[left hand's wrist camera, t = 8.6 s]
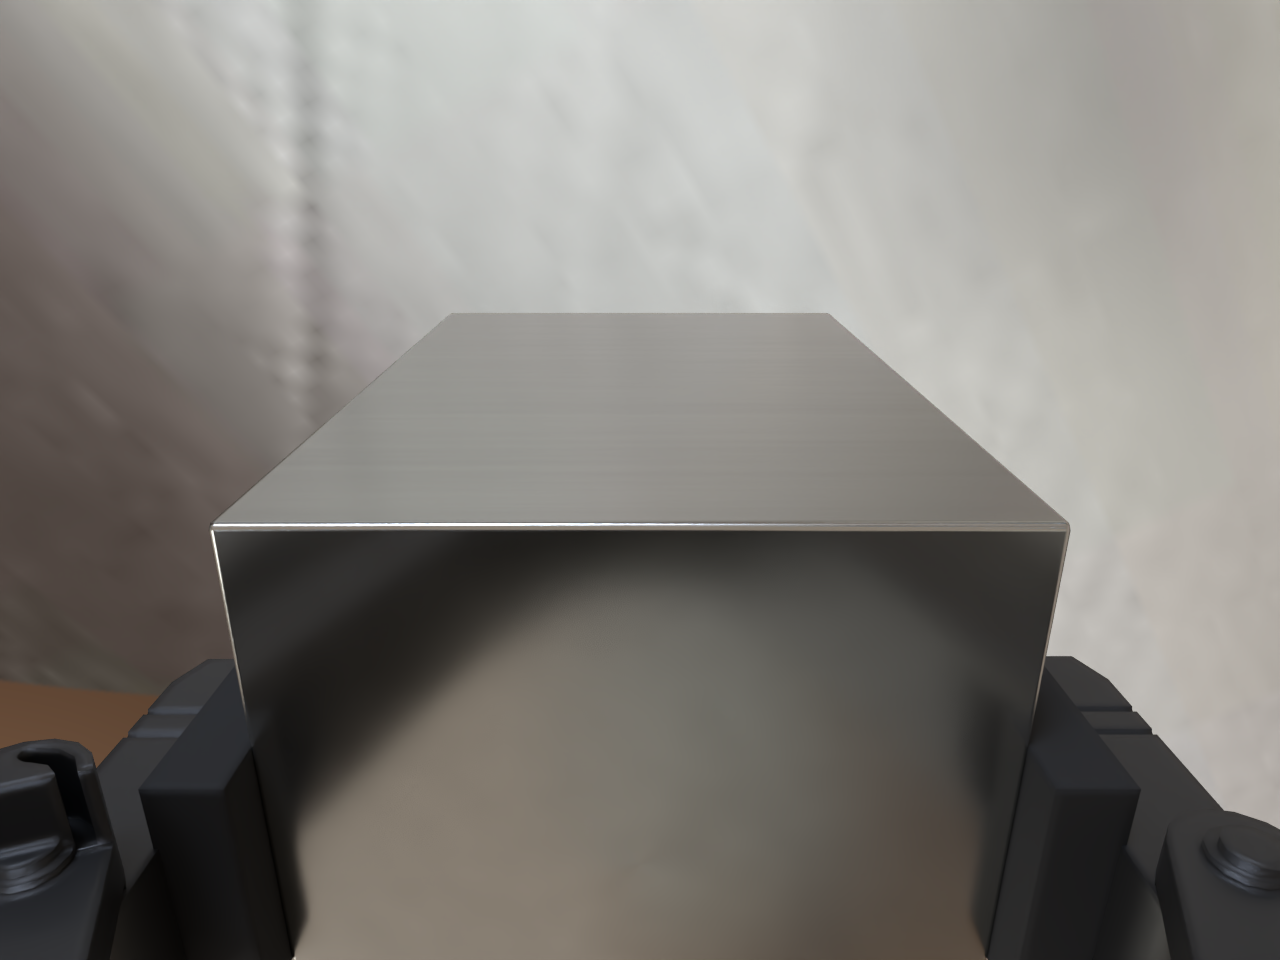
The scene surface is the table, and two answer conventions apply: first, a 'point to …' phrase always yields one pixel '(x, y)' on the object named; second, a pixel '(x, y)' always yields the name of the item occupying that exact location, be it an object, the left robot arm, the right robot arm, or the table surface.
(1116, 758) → the left robot arm
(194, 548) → the table surface
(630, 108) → the table surface
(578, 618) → the metal block
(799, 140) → the table surface
